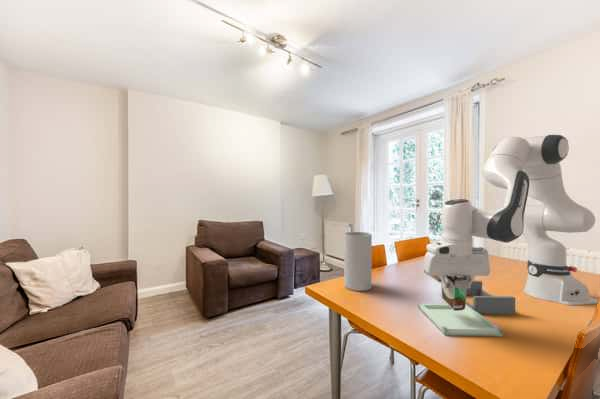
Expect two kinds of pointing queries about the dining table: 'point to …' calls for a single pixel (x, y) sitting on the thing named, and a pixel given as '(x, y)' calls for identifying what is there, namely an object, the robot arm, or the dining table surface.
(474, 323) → the tray
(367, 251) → the cylinder vase
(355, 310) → the dining table surface
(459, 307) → the food container
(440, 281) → the shallow brown square box
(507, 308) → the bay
